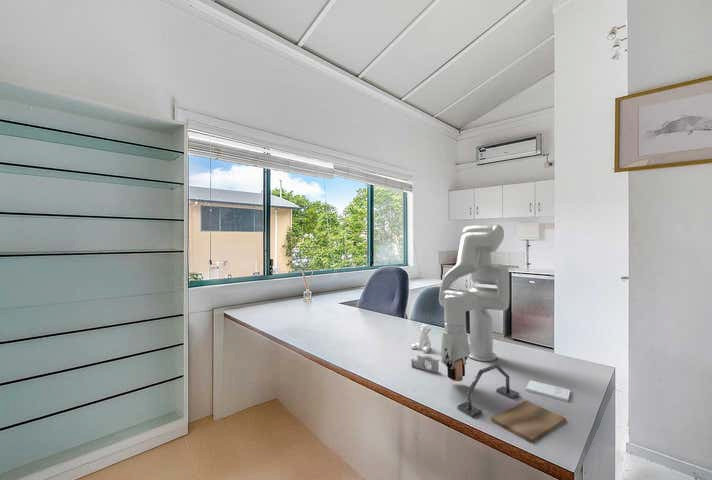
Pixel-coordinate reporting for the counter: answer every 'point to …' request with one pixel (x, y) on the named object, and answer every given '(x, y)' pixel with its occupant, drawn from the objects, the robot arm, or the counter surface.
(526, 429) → the walnut board
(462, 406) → the grey cabinet handle
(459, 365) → the peach domed cylinder
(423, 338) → the seated beast figurine
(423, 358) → the garden wall model
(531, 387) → the external hard drive
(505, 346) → the counter surface
